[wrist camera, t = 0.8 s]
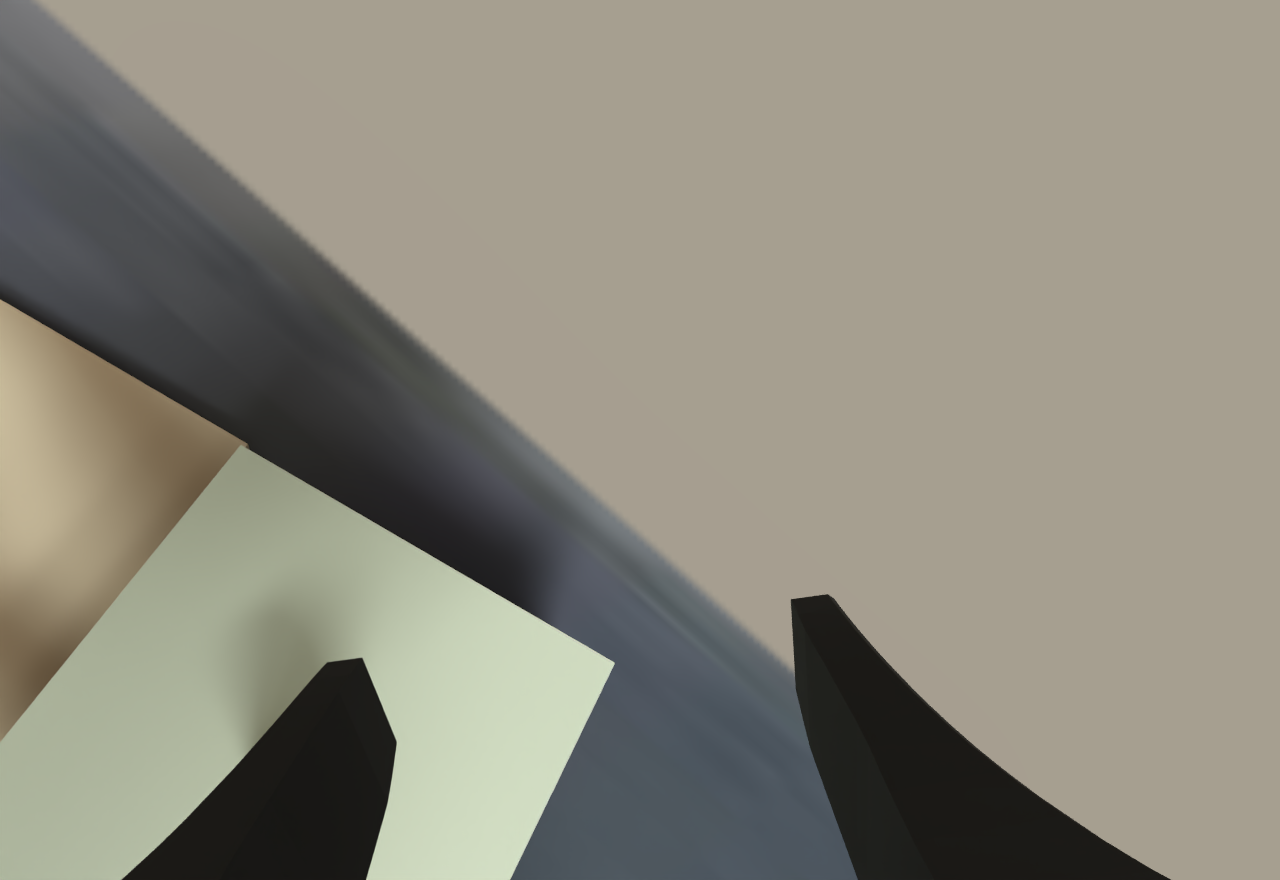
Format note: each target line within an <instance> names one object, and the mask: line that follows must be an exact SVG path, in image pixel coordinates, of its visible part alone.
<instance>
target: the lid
mask: <svg viewBox="0 0 1280 880" xmlns="http://www.w3.org/2000/svg"><path fill="white" fill-rule="evenodd" d="M355 658H363V660H364V663H365V665H366V667H367V670H368V672H369V675H370V677H371V680H372V682H373V685H374V687H375V689H376V692H377V694H378V697H379V699H380V702H381V704H382V707H383V709H384V711H385V714H386V716H387V719H388V721H389V724H390V726H391V729H392V731H393V733H394V736H395V738H396V741H397V746H396V753H395V761H394V768H393V775H392V781H391V787H390V793H389V799H388V804H387V808H386V811H385V815H384V819H383V822H382V826H381V829H380V833H379V837H378V840H377V844H376V847H375V851H374V854H373V858H372V861H371V865H370V868H369V872H368V875H367V878H366V880H510V879H511V877H512V875H513V872H514V870H515V868H516V866H517V864H518V862H519V860H520V858H521V856H522V854H523V852H524V850H525V848H526V846H527V844H528V841H529V839H530V837H531V835H532V833H533V831H534V829H535V827H536V825H537V823H538V821H539V819H540V817H541V815H542V813H543V810H544V808H545V806H546V804H547V802H548V800H549V798H550V796H551V794H552V792H553V790H554V788H555V786H556V784H557V782H558V780H559V777H560V775H561V773H562V771H563V769H564V767H565V765H566V763H567V761H568V759H569V757H570V755H571V753H572V751H573V749H574V746H575V744H576V742H577V740H578V738H579V736H580V734H581V732H582V730H583V728H584V726H585V724H586V722H587V720H588V718H589V715H590V713H591V711H592V709H593V707H594V705H595V703H596V701H597V699H598V697H599V695H600V693H601V691H602V689H603V687H604V684H605V682H606V680H607V678H608V676H609V674H610V672H611V670H612V668H613V666H614V664H615V663H614V662H612V661H611V660H609V659H607V658H605V657H604V656H602V655H600V654H599V653H597V652H595V651H593V650H592V649H590V648H588V647H587V646H585V645H583V644H581V643H580V642H578V641H576V640H575V639H573V638H571V637H569V636H568V635H566V634H564V633H563V632H561V631H559V630H557V629H556V628H554V627H552V626H551V625H549V624H547V623H545V622H544V621H542V620H540V619H539V618H537V617H535V616H533V615H532V614H530V613H528V612H527V611H525V610H523V609H521V608H520V607H518V606H516V605H515V604H513V603H511V602H509V601H508V600H506V599H504V598H503V597H501V596H499V595H497V594H496V593H494V592H492V591H491V590H489V589H487V588H485V587H484V586H482V585H480V584H479V583H477V582H475V581H473V580H472V579H470V578H468V577H467V576H465V575H463V574H461V573H460V572H458V571H456V570H455V569H453V568H451V567H449V566H448V565H446V564H444V563H443V562H441V561H439V560H437V559H436V558H434V557H432V556H431V555H429V554H427V553H425V552H424V551H422V550H420V549H419V548H417V547H415V546H413V545H412V544H410V543H408V542H407V541H405V540H403V539H401V538H400V537H398V536H396V535H395V534H393V533H391V532H389V531H388V530H386V529H384V528H383V527H381V526H379V525H377V524H376V523H374V522H372V521H371V520H369V519H367V518H365V517H364V516H362V515H360V514H359V513H357V512H355V511H353V510H352V509H350V508H348V507H347V506H345V505H343V504H341V503H340V502H338V501H336V500H335V499H333V498H331V497H329V496H328V495H326V494H324V493H323V492H321V491H319V490H317V489H316V488H314V487H312V486H310V485H309V484H307V483H305V482H304V481H302V480H300V479H298V478H297V477H295V476H293V475H292V474H290V473H288V472H286V471H285V470H283V469H281V468H280V467H278V466H276V465H274V464H273V463H271V462H269V461H268V460H266V459H264V458H262V457H261V456H259V455H257V454H256V453H254V452H252V451H250V450H249V449H247V448H245V447H244V446H242V445H240V446H239V448H238V449H237V450H236V451H235V452H234V454H233V455H232V456H231V457H230V459H229V460H228V461H227V462H226V464H225V465H224V466H223V467H222V469H221V470H220V471H219V472H218V473H217V475H216V476H215V477H214V478H213V480H212V481H211V482H210V483H209V485H208V486H207V487H206V488H205V490H204V491H203V492H202V493H201V495H200V496H199V497H198V498H197V499H196V501H195V502H194V503H193V504H192V506H191V507H190V508H189V509H188V511H187V512H186V513H185V514H184V516H183V517H182V518H181V519H180V520H179V522H178V523H177V524H176V525H175V527H174V528H173V529H172V530H171V532H170V533H169V534H168V535H167V537H166V538H165V539H164V540H163V542H162V543H161V544H160V545H159V546H158V548H157V549H156V550H155V551H154V553H153V554H152V555H151V556H150V558H149V559H148V560H147V561H146V563H145V564H144V565H143V566H142V567H141V569H140V570H139V571H138V572H137V574H136V575H135V576H134V577H133V579H132V580H131V581H130V582H129V584H128V585H127V586H126V587H125V589H124V590H123V591H122V592H121V593H120V595H119V596H118V597H117V598H116V600H115V601H114V602H113V603H112V605H111V606H110V607H109V608H108V610H107V611H106V612H105V613H104V614H103V616H102V617H101V618H100V619H99V621H98V622H97V623H96V624H95V626H94V627H93V628H92V629H91V631H90V632H89V633H88V634H87V636H86V637H85V638H84V639H83V640H82V642H81V643H80V644H79V645H78V647H77V648H76V649H75V650H74V652H73V653H72V654H71V655H70V657H69V658H68V659H67V660H66V661H65V663H64V664H63V665H62V666H61V668H60V669H59V670H58V671H57V673H56V674H55V675H54V676H53V678H52V679H51V680H50V681H49V683H48V684H47V685H46V686H45V687H44V689H43V690H42V691H41V692H40V694H39V695H38V696H37V697H36V699H35V700H34V701H33V702H32V704H31V705H30V706H29V707H28V708H27V710H26V711H25V712H24V713H23V715H22V716H21V717H20V718H19V720H18V721H17V722H16V723H15V725H14V726H13V727H12V728H11V729H10V731H9V732H8V733H7V734H6V736H5V737H4V738H3V739H2V741H1V742H0V880H122V879H123V878H124V877H125V876H126V875H127V874H128V873H129V872H130V871H131V870H133V869H134V868H135V867H136V866H137V865H138V864H139V863H140V862H141V861H142V860H143V859H145V858H146V857H147V856H148V855H149V854H150V853H151V852H152V851H153V850H154V849H155V848H156V847H157V846H159V845H160V844H161V843H162V842H163V841H164V840H165V839H166V838H167V837H168V836H169V835H170V834H171V833H172V832H173V831H174V830H175V829H176V828H177V827H178V826H179V825H180V824H181V823H182V822H183V821H184V820H185V819H186V818H187V817H188V816H189V815H190V814H191V813H192V812H193V811H194V810H195V809H196V808H197V807H198V805H199V804H200V803H201V802H202V801H203V800H204V799H205V798H206V797H207V796H208V795H209V794H210V793H211V792H212V791H213V790H214V789H215V788H216V787H217V786H218V784H219V783H220V782H221V781H222V780H223V779H224V778H225V777H226V776H227V775H228V774H229V773H230V772H231V771H232V770H233V769H234V768H235V767H236V765H237V764H238V763H239V762H240V761H241V760H242V759H243V758H244V756H245V755H246V754H247V753H248V752H249V751H250V750H251V748H252V747H253V746H254V745H255V744H256V743H257V742H258V741H259V739H260V738H261V737H262V736H263V735H264V734H265V733H266V731H267V730H268V729H269V728H270V727H271V726H272V725H273V724H274V722H275V721H276V720H277V719H278V718H279V717H280V715H281V714H282V713H283V712H284V711H285V710H286V708H287V707H288V706H289V705H290V704H291V703H292V701H293V700H294V699H295V698H296V697H297V696H298V694H299V693H300V692H301V691H302V690H303V689H304V687H305V686H306V685H307V684H308V683H309V682H310V681H311V679H312V678H313V677H314V676H315V675H316V674H317V673H318V671H319V670H320V669H321V668H322V667H323V666H324V665H325V664H326V663H327V662H333V661H340V660H348V659H355Z"/></svg>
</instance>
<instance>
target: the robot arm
mask: <svg viewBox="0 0 1280 880" xmlns="http://www.w3.org/2000/svg"><path fill="white" fill-rule="evenodd" d="M791 610H792V628H793V646H794V662H795V663H794V664H795V682H796V692H797V696H798V700H799V704H800V708H801V713H802V717H803V721H804V725H805V729H806V733H807V737H808V741H809V745H810V748H811V751H812V754H813V757H814V760H815V763H816V765H817V768H818V771H819V774H820V776H821V779H822V782H823V785H824V788H825V790H826V793H827V796H828V799H829V801H830V804H831V807H832V810H833V812H834V815H835V818H836V821H837V823H838V826H839V829H840V831H841V834H842V837H843V840H844V842H845V845H846V848H847V851H848V853H849V856H850V859H851V862H852V864H853V867H854V870H855V873H856V875H857V878H858V880H1170V879H1169V878H1167V877H1165V876H1163V875H1161V874H1159V873H1158V872H1156V871H1154V870H1152V869H1150V868H1149V867H1147V866H1145V865H1144V864H1142V863H1140V862H1139V861H1137V860H1135V859H1134V858H1132V857H1130V856H1129V855H1127V854H1125V853H1124V852H1122V851H1120V850H1119V849H1117V848H1116V847H1114V846H1112V845H1111V844H1109V843H1107V842H1105V841H1104V840H1102V839H1101V838H1099V837H1098V836H1096V835H1095V834H1093V833H1092V832H1091V831H1089V830H1088V829H1086V828H1085V827H1083V826H1082V825H1080V824H1079V823H1077V822H1076V821H1074V820H1073V819H1071V818H1070V817H1069V816H1067V815H1066V814H1064V813H1063V812H1061V811H1060V810H1058V809H1057V808H1055V807H1054V806H1052V805H1051V804H1049V803H1048V802H1046V801H1045V800H1043V799H1042V798H1041V797H1039V796H1038V795H1036V794H1035V793H1034V792H1032V791H1031V790H1030V789H1028V788H1027V787H1026V786H1024V785H1023V784H1021V782H1019V781H1018V780H1016V779H1015V778H1014V777H1013V776H1011V775H1010V774H1008V773H1007V772H1006V771H1005V770H1003V769H1002V768H1001V767H1000V766H998V765H997V764H996V763H995V762H994V761H992V760H991V759H990V758H989V757H987V756H986V755H985V754H984V753H982V752H981V751H980V750H979V749H978V748H976V747H975V746H974V745H973V744H972V743H970V742H969V741H968V740H967V739H966V738H965V737H964V736H962V735H961V734H960V733H959V732H958V731H957V730H955V729H954V728H953V727H952V726H951V725H950V724H949V723H948V722H947V721H946V720H945V719H944V718H943V717H941V716H940V715H939V714H938V713H937V712H936V711H935V710H934V709H933V708H932V707H931V706H929V705H928V704H927V703H926V702H925V701H924V700H923V699H922V698H921V697H920V696H919V695H918V694H917V693H916V692H915V691H914V690H913V689H912V688H911V687H910V686H909V685H908V683H907V682H906V681H905V680H904V679H903V678H902V677H901V676H900V675H899V674H898V673H897V672H896V671H895V670H894V669H893V668H892V667H891V666H890V665H889V664H888V663H887V662H886V660H885V659H884V658H883V657H882V656H881V655H880V654H879V653H878V652H877V651H876V649H875V648H874V647H873V646H872V645H871V644H870V643H869V641H868V640H867V639H866V638H865V637H864V636H863V634H862V633H861V632H860V631H859V630H858V629H857V627H856V626H855V625H854V624H853V622H852V621H851V620H850V619H849V618H848V616H847V615H846V614H845V612H844V611H843V610H842V609H841V607H840V606H839V605H838V603H837V602H836V601H835V599H834V598H832V597H831V596H829V595H828V594H827V595H819V596H812V597H805V598H797V599H791ZM396 746H397V741H396V738H395V736H394V733H393V731H392V729H391V726H390V724H389V721H388V719H387V716H386V714H385V711H384V709H383V707H382V704H381V702H380V699H379V697H378V694H377V692H376V689H375V687H374V685H373V682H372V680H371V677H370V675H369V672H368V670H367V667H366V665H365V663H364V660H363V658H355V659H348V660H340V661H333V662H327V663H326V664H325V665H324V666H323V667H322V668H321V669H320V670H319V671H318V673H317V674H316V675H315V676H314V677H313V678H312V679H311V681H310V682H309V683H308V684H307V685H306V686H305V687H304V689H303V690H302V691H301V692H300V693H299V694H298V696H297V697H296V698H295V699H294V700H293V701H292V703H291V704H290V705H289V706H288V707H287V708H286V710H285V711H284V712H283V713H282V714H281V715H280V717H279V718H278V719H277V720H276V721H275V722H274V724H273V725H272V726H271V727H270V728H269V729H268V730H267V731H266V733H265V734H264V735H263V736H262V737H261V738H260V739H259V741H258V742H257V743H256V744H255V745H254V746H253V747H252V748H251V750H250V751H249V752H248V753H247V754H246V755H245V756H244V758H243V759H242V760H241V761H240V762H239V763H238V764H237V765H236V767H235V768H234V769H233V770H232V771H231V772H230V773H229V774H228V775H227V776H226V777H225V778H224V779H223V780H222V781H221V782H220V783H219V784H218V786H217V787H216V788H215V789H214V790H213V791H212V792H211V793H210V794H209V795H208V796H207V797H206V798H205V799H204V800H203V801H202V802H201V803H200V804H199V805H198V807H197V808H196V809H195V810H194V811H193V812H192V813H191V814H190V815H189V816H188V817H187V818H186V819H185V820H184V821H183V822H182V823H181V824H180V825H179V826H178V827H177V828H176V829H175V830H174V831H173V832H172V833H171V834H170V835H169V836H168V837H167V838H166V839H165V840H164V841H163V842H162V843H161V844H160V845H159V846H157V847H156V848H155V849H154V850H153V851H152V852H151V853H150V854H149V855H148V856H147V857H146V858H145V859H143V860H142V861H141V862H140V863H139V864H138V865H137V866H136V867H135V868H134V869H133V870H131V871H130V872H129V873H128V874H127V875H126V876H125V877H124V878H123V879H122V880H366V878H367V875H368V872H369V868H370V865H371V861H372V858H373V854H374V851H375V847H376V844H377V840H378V837H379V833H380V829H381V826H382V822H383V819H384V815H385V811H386V808H387V804H388V799H389V793H390V787H391V781H392V775H393V768H394V761H395V753H396Z"/></svg>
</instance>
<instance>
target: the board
mask: <svg viewBox="0 0 1280 880" xmlns="http://www.w3.org/2000/svg"><path fill="white" fill-rule="evenodd" d="M240 445H242V446H244V447H245V448H247V449H249V446H248V444H247V443H245V442H244V441H242V440H240V439H238V438H237V437H235V436H233V435H232V434H230V433H228V432H226V431H225V430H223V429H221V428H220V427H218V426H216V425H214V424H213V423H211V422H209V421H208V420H206V419H204V418H202V417H201V416H199V415H197V414H196V413H194V412H192V411H190V410H189V409H187V408H185V407H184V406H182V405H180V404H178V403H177V402H175V401H173V400H172V399H170V398H168V397H166V396H165V395H163V394H161V393H160V392H158V391H156V390H154V389H153V388H151V387H149V386H148V385H146V384H144V383H143V382H141V381H139V380H137V379H136V378H134V377H132V376H131V375H129V374H127V373H125V372H124V371H122V370H120V369H119V368H117V367H115V366H113V365H112V364H110V363H108V362H107V361H105V360H103V359H101V358H100V357H98V356H96V355H95V354H93V353H91V352H89V351H88V350H86V349H84V348H83V347H81V346H79V345H77V344H76V343H74V342H72V341H71V340H69V339H67V338H65V337H64V336H62V335H60V334H59V333H57V332H55V331H54V330H52V329H50V328H48V327H47V326H45V325H43V324H42V323H40V322H38V321H36V320H35V319H33V318H31V317H30V316H28V315H26V314H24V313H23V312H21V311H19V310H18V309H16V308H14V307H12V306H11V305H9V304H7V303H6V302H4V301H2V300H0V742H1V741H2V739H3V738H4V737H5V736H6V734H7V733H8V732H9V731H10V729H11V728H12V727H13V726H14V725H15V723H16V722H17V721H18V720H19V718H20V717H21V716H22V715H23V713H24V712H25V711H26V710H27V708H28V707H29V706H30V705H31V704H32V702H33V701H34V700H35V699H36V697H37V696H38V695H39V694H40V692H41V691H42V690H43V689H44V687H45V686H46V685H47V684H48V683H49V681H50V680H51V679H52V678H53V676H54V675H55V674H56V673H57V671H58V670H59V669H60V668H61V666H62V665H63V664H64V663H65V661H66V660H67V659H68V658H69V657H70V655H71V654H72V653H73V652H74V650H75V649H76V648H77V647H78V645H79V644H80V643H81V642H82V640H83V639H84V638H85V637H86V636H87V634H88V633H89V632H90V631H91V629H92V628H93V627H94V626H95V624H96V623H97V622H98V621H99V619H100V618H101V617H102V616H103V614H104V613H105V612H106V611H107V610H108V608H109V607H110V606H111V605H112V603H113V602H114V601H115V600H116V598H117V597H118V596H119V595H120V593H121V592H122V591H123V590H124V589H125V587H126V586H127V585H128V584H129V582H130V581H131V580H132V579H133V577H134V576H135V575H136V574H137V572H138V571H139V570H140V569H141V567H142V566H143V565H144V564H145V563H146V561H147V560H148V559H149V558H150V556H151V555H152V554H153V553H154V551H155V550H156V549H157V548H158V546H159V545H160V544H161V543H162V542H163V540H164V539H165V538H166V537H167V535H168V534H169V533H170V532H171V530H172V529H173V528H174V527H175V525H176V524H177V523H178V522H179V520H180V519H181V518H182V517H183V516H184V514H185V513H186V512H187V511H188V509H189V508H190V507H191V506H192V504H193V503H194V502H195V501H196V499H197V498H198V497H199V496H200V495H201V493H202V492H203V491H204V490H205V488H206V487H207V486H208V485H209V483H210V482H211V481H212V480H213V478H214V477H215V476H216V475H217V473H218V472H219V471H220V470H221V469H222V467H223V466H224V465H225V464H226V462H227V461H228V460H229V459H230V457H231V456H232V455H233V454H234V452H235V451H236V450H237V449H238V448H239V446H240Z"/></svg>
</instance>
